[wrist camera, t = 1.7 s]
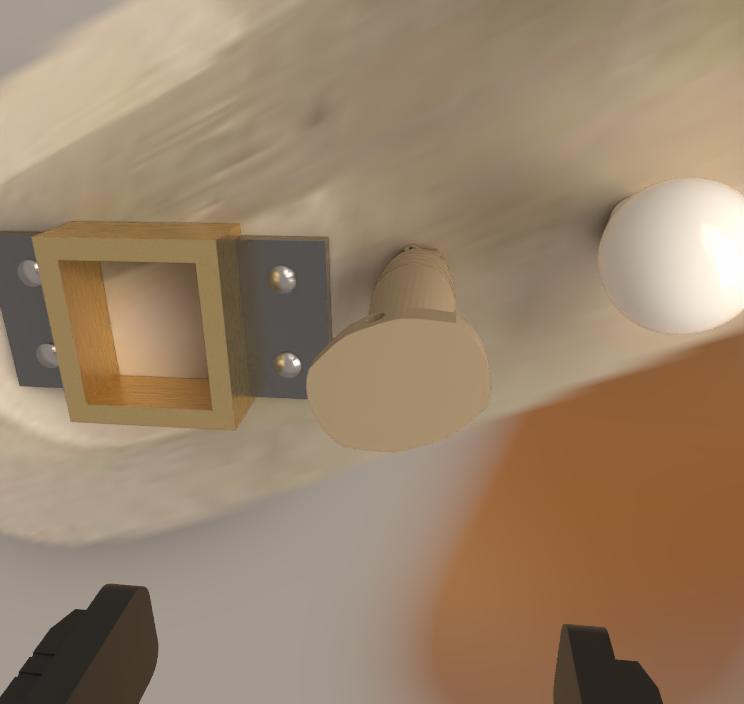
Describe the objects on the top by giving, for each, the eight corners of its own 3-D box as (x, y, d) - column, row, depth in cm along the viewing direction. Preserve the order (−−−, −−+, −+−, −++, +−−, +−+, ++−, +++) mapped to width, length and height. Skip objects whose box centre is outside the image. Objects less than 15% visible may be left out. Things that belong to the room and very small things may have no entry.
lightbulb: (615, 301, 36) (678, 389, 26) (544, 213, 34) (581, 269, 24) (722, 225, 34) (836, 289, 24) (651, 128, 32) (740, 151, 22)
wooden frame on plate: (-8, 220, 38) (-58, 235, 35) (328, 225, 36) (313, 242, 32) (31, 388, 42) (-9, 417, 39) (334, 402, 40) (322, 434, 37)
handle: (350, 248, 36) (286, 353, 23) (461, 209, 35) (464, 296, 21) (380, 326, 38) (337, 468, 24) (488, 291, 36) (507, 422, 23)
